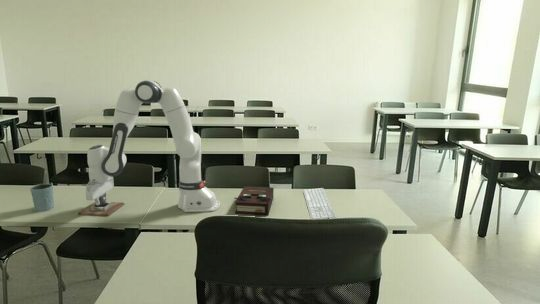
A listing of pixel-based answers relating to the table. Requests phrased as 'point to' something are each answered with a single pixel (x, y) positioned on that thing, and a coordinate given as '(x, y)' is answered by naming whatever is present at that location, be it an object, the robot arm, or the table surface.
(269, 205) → the decorative book
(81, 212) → the board
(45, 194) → the blue cup
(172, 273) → the table surface
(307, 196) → the keyboard
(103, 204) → the black cap
